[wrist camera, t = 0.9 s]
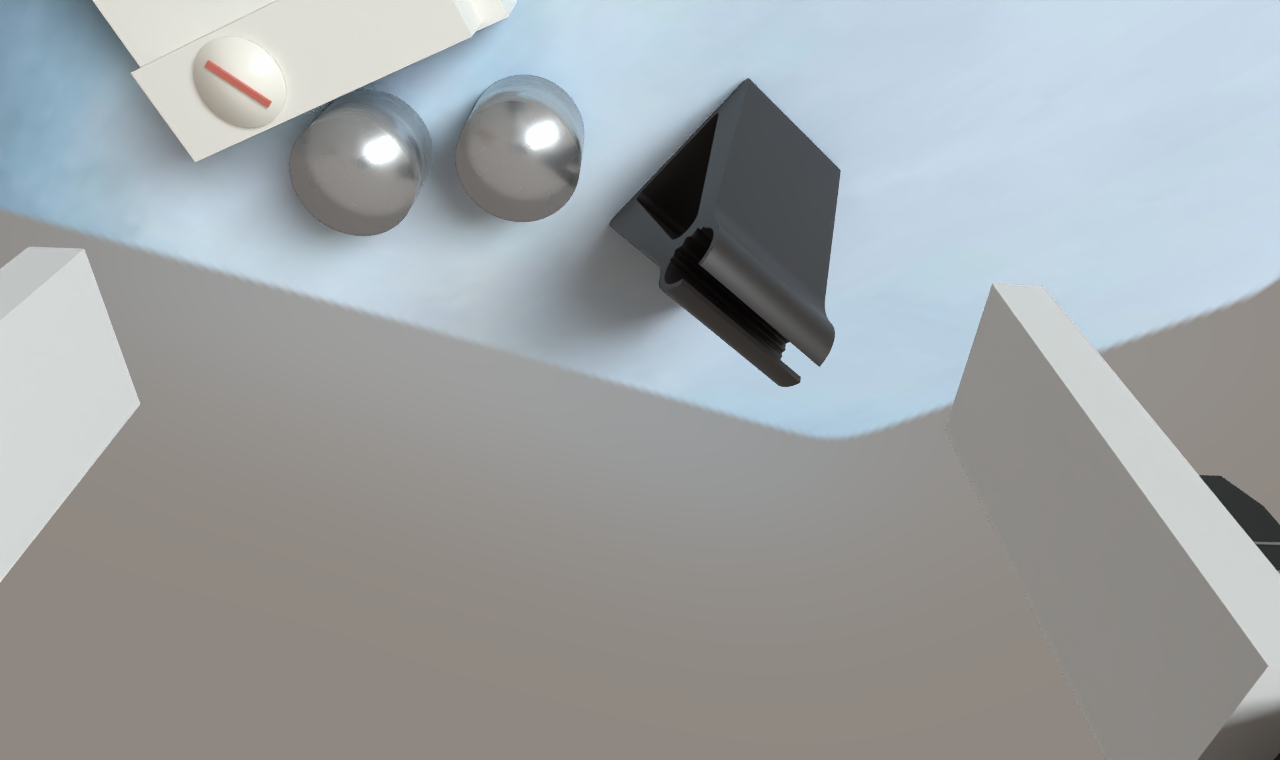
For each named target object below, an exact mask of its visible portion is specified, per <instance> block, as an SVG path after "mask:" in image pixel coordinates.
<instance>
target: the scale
mask: <svg viewBox="0 0 1280 760" xmlns="http://www.w3.org/2000/svg"><path fill="white" fill-rule="evenodd" d="M93 2H94V3H95V5H96V6H97V7H98V9H99V10H100V12H101V13H102V14H103V16H104V17H105V19H106V20H107V21H108V23H109V24H110V26H111V27H112V28H113V30H114V31H115V33H116V34H117V35H118V37H119V38H120V40H121V41H122V42H123V44H124V45H125V47H126V48H127V49H128V51H129V52H130V54H131V55H132V56H133V58H134V59H135V60H136V62H137V63H138V65H139V66H140V68H139V69H137V70H135V71H133V72H131V74H132V76H133V77H134V78H135V80H136V81H137V83H138V84H139V85H140V87H141V88H142V89H143V91H144V92H145V94H146V95H147V96H148V98H149V99H150V101H151V102H152V103H153V105H154V106H155V107H156V109H157V110H158V112H159V113H160V114H161V116H162V117H163V118H164V120H165V121H166V123H167V124H168V125H169V127H170V128H171V130H172V131H173V132H174V134H175V135H176V136H177V138H178V139H179V141H180V142H181V143H182V145H183V146H184V147H185V149H186V150H187V152H188V153H189V154H190V156H191V157H192V159H193V160H194V161H195V162H197V161H199V160H201V159H204V158H206V157H208V156H210V155H212V154H215V153H217V152H219V151H221V150H223V149H226V148H228V147H230V146H232V145H234V144H237V143H239V142H241V141H243V140H245V139H248V138H250V137H252V136H254V135H256V134H259V133H261V132H263V131H265V130H267V129H270V128H272V127H274V126H276V125H279V124H281V123H283V122H285V121H287V120H290V119H292V118H294V117H296V116H298V115H301V114H303V113H305V112H307V111H309V110H312V109H314V108H316V107H318V106H320V105H323V104H325V103H327V102H329V101H331V100H334V99H336V98H338V97H340V96H342V95H345V94H347V93H349V92H351V91H353V90H356V89H358V88H360V87H362V86H364V85H367V84H369V83H371V82H373V81H376V80H378V79H380V78H382V77H384V76H387V75H389V74H391V73H393V72H395V71H398V70H400V69H402V68H404V67H406V66H409V65H411V64H413V63H415V62H417V61H420V60H422V59H424V58H426V57H428V56H431V55H433V54H435V53H437V52H439V51H442V50H444V49H446V48H448V47H450V46H453V45H455V44H457V43H459V42H461V41H464V40H466V39H468V38H470V37H472V36H473V34H474V33H475V32H476V31H478V30H480V29H483V28H485V27H487V26H489V25H491V24H494V23H496V22H498V21H500V20H502V19H505V18H507V17H508V16H509V14H510V13H511V11H512V9H513V7H514V6H515V4H516V2H517V1H516V0H93Z"/></svg>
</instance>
